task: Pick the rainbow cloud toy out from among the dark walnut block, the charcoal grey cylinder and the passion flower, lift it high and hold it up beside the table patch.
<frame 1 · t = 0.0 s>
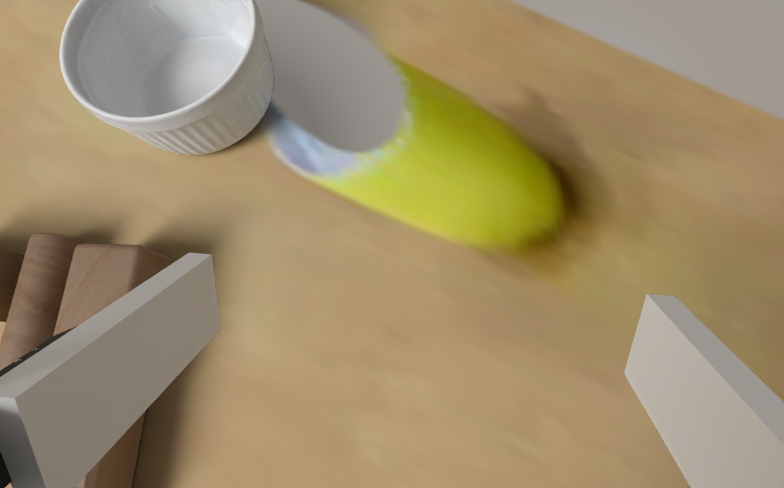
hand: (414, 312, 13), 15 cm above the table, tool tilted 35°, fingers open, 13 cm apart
wooden block set: (49, 370, 30), on the table
ramekin: (210, 96, 34), on the table
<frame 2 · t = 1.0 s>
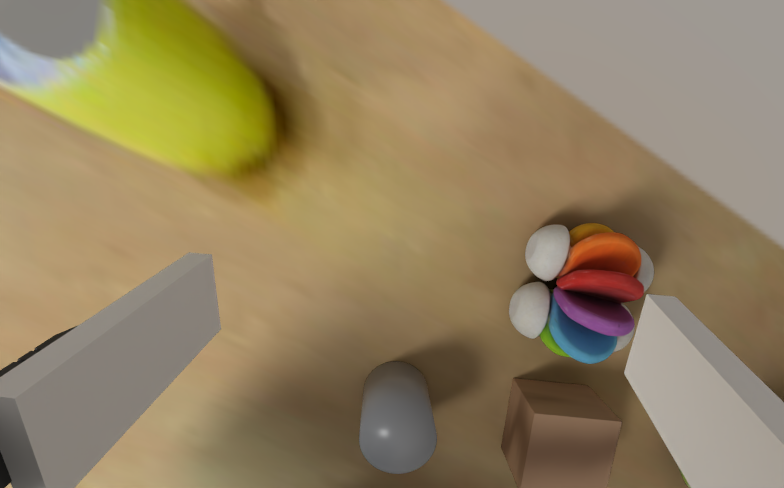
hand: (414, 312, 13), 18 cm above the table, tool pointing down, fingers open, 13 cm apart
walnut block: (543, 415, 34), on the table
rainbow cloud toy: (565, 282, 32), on the table
grey cylinder: (395, 391, 33), on the table
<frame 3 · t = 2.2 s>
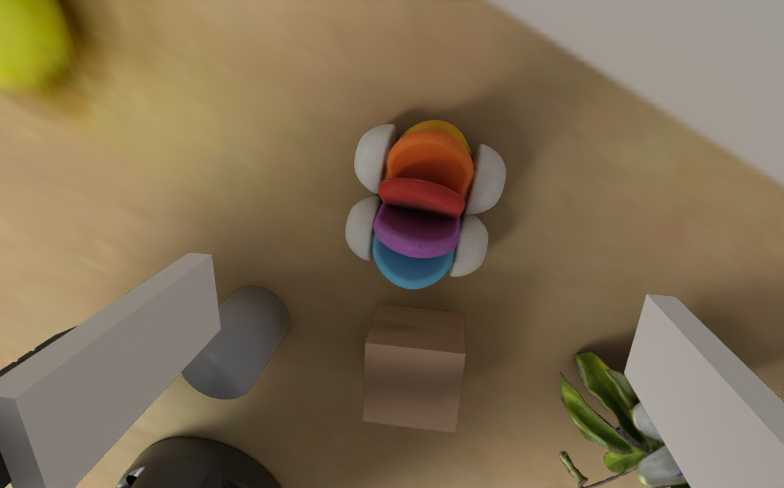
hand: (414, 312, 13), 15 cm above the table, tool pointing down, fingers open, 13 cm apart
passion flower: (645, 389, 30), on the table
walnut block: (417, 343, 31), on the table
rainbow cloud toy: (424, 194, 27), on the table
grey cylinder: (256, 316, 32), on the table
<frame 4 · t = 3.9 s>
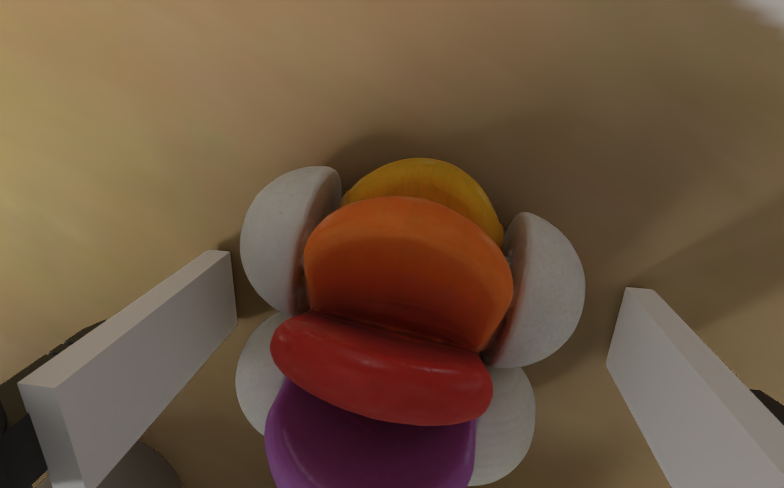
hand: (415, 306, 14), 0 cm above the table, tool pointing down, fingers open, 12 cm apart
rainbow cloud toy: (404, 294, 14), on the table
grey cylinder: (127, 478, 19), on the table
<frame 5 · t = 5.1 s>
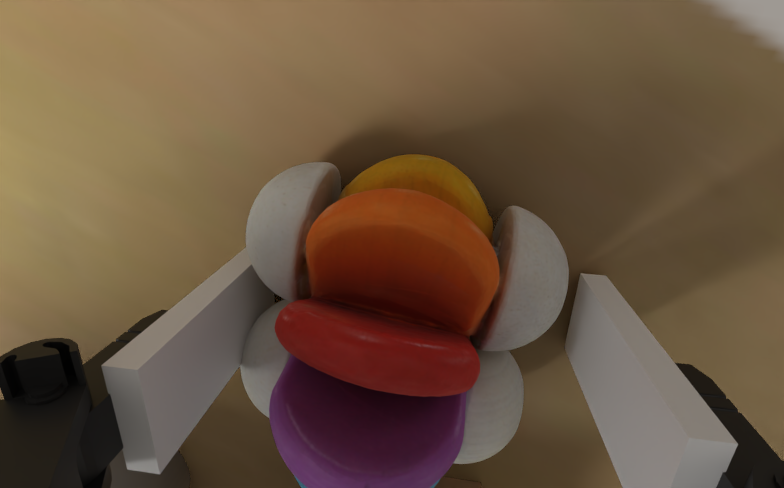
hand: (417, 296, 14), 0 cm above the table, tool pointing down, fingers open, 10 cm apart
rainbow cloud toy: (400, 285, 15), on the table, touching gripper
grey cylinder: (137, 466, 19), on the table
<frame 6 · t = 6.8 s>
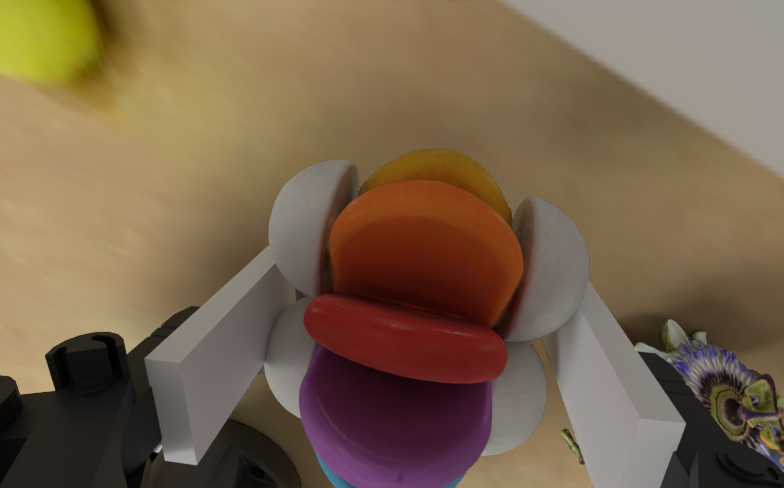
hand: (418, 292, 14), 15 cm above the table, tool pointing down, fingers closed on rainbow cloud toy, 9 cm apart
passion flower: (645, 371, 32), on the table
rainbow cloud toy: (418, 280, 15), point 15 cm above the table, touching gripper
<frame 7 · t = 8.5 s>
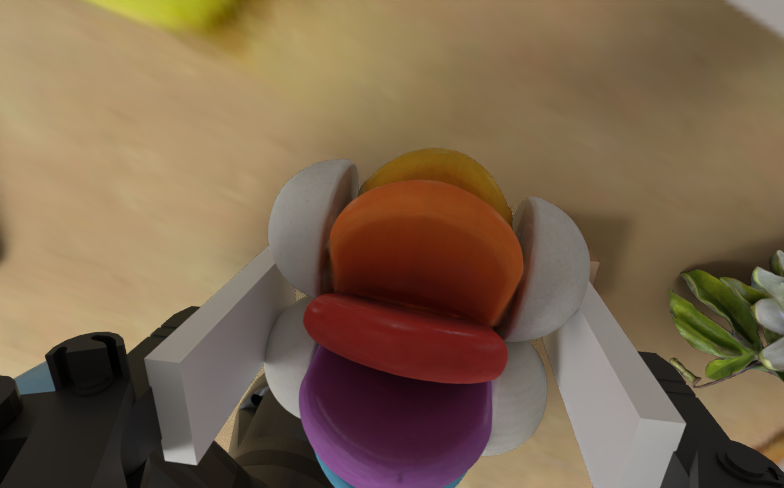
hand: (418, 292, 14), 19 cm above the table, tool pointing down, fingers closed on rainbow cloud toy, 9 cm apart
passion flower: (743, 307, 33), on the table
rainbow cloud toy: (418, 280, 15), point 19 cm above the table, touching gripper
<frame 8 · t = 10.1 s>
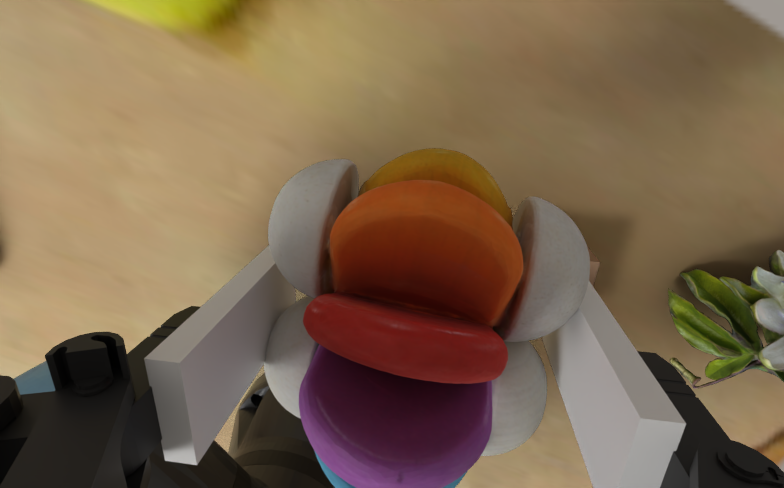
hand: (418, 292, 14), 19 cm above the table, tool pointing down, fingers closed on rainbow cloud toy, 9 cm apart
passion flower: (743, 307, 33), on the table
rainbow cloud toy: (418, 280, 15), point 19 cm above the table, touching gripper
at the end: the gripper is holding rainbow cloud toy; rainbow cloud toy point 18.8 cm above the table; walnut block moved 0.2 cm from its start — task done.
